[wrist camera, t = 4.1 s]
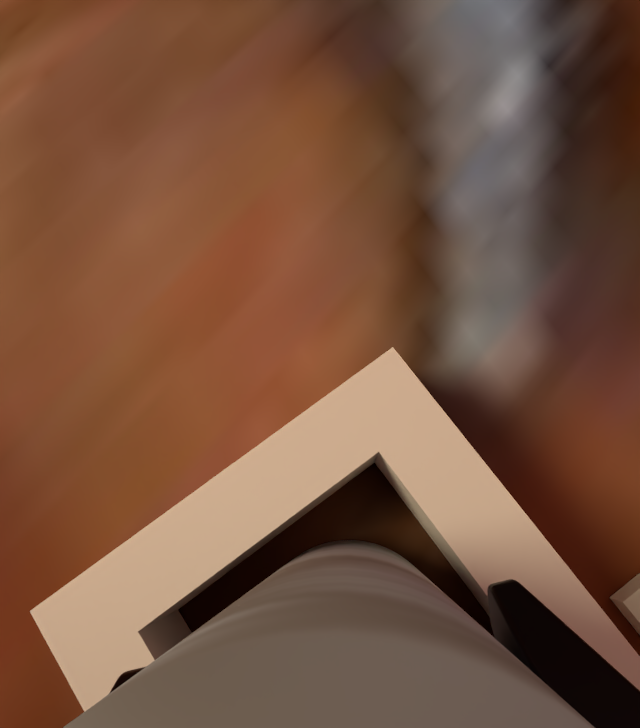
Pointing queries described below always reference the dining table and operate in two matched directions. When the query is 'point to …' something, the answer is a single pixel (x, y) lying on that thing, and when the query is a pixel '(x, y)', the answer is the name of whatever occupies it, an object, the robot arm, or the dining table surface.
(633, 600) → the pad
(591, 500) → the dining table surface
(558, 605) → the pocket block
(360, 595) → the peg
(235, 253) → the dining table surface
